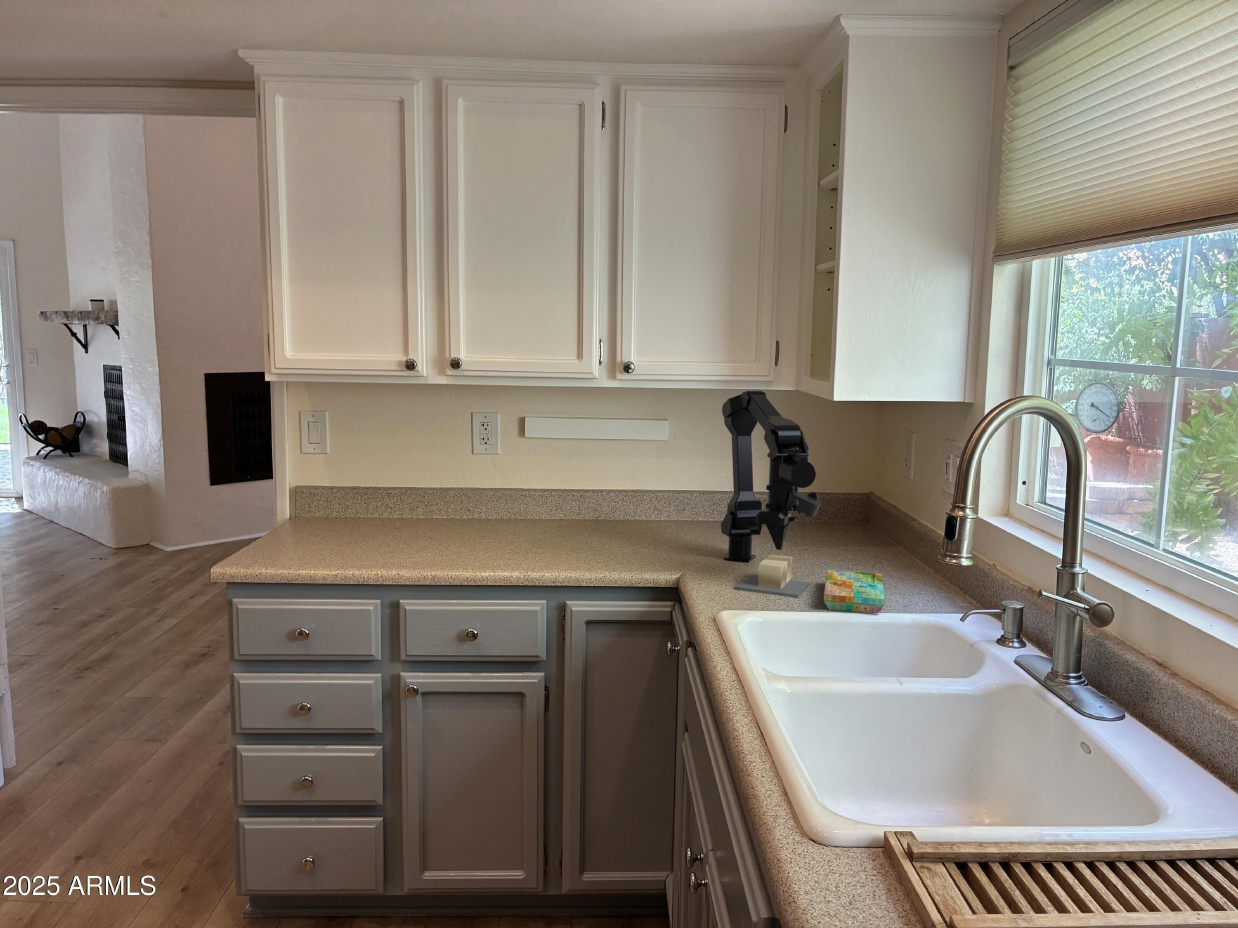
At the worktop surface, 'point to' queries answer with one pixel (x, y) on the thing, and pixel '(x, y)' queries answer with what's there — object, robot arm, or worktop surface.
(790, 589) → the rubber mat
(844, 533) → the worktop surface
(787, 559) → the maple block
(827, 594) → the puzzle game
